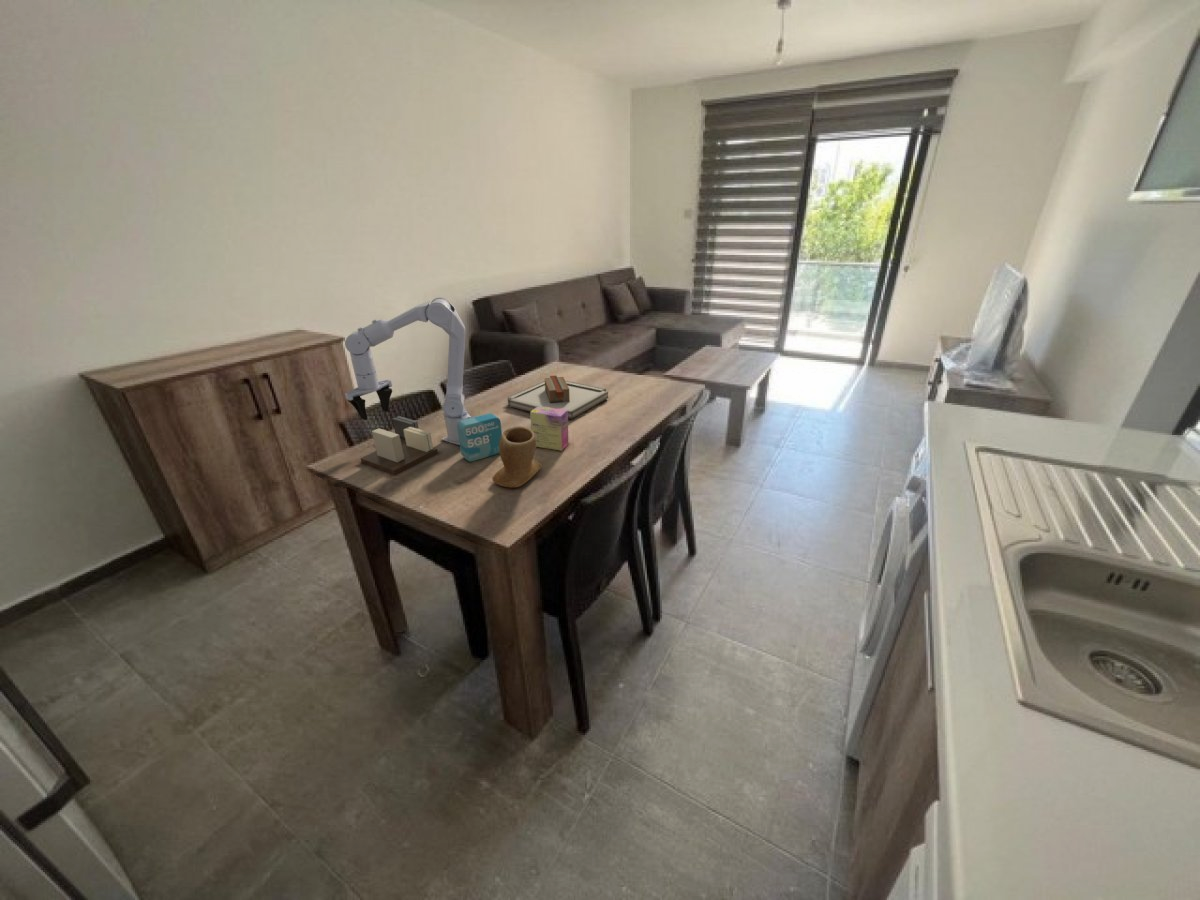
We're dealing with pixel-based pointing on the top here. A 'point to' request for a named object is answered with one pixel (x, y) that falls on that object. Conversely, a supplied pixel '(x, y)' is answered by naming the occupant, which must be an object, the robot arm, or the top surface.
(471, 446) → the data package
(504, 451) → the stone cup
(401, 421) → the grey books
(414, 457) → the shelf board
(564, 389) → the grey square tray
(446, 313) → the robot arm
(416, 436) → the cream books
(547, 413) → the box
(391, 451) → the white book
